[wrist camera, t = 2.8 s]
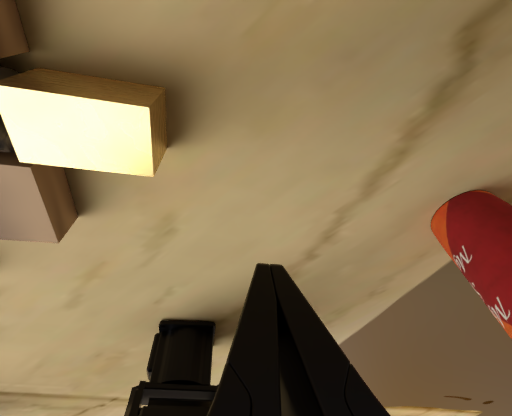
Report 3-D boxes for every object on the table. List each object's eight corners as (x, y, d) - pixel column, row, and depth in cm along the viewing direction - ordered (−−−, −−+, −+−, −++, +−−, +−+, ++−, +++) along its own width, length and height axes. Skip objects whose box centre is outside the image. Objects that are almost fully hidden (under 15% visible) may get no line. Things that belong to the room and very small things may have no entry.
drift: (165, 87, 16) (148, 107, 13) (167, 147, 19) (153, 176, 16) (39, 67, 15) (-12, 83, 12) (58, 133, 18) (19, 162, 15)
